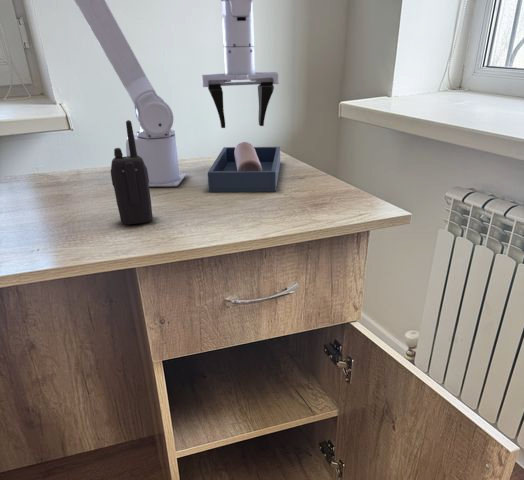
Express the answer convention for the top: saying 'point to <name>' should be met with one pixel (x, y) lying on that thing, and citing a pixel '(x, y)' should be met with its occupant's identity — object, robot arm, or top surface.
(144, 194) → the two-way radio
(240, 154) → the pink hollow tube
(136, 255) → the top surface
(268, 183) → the holder
